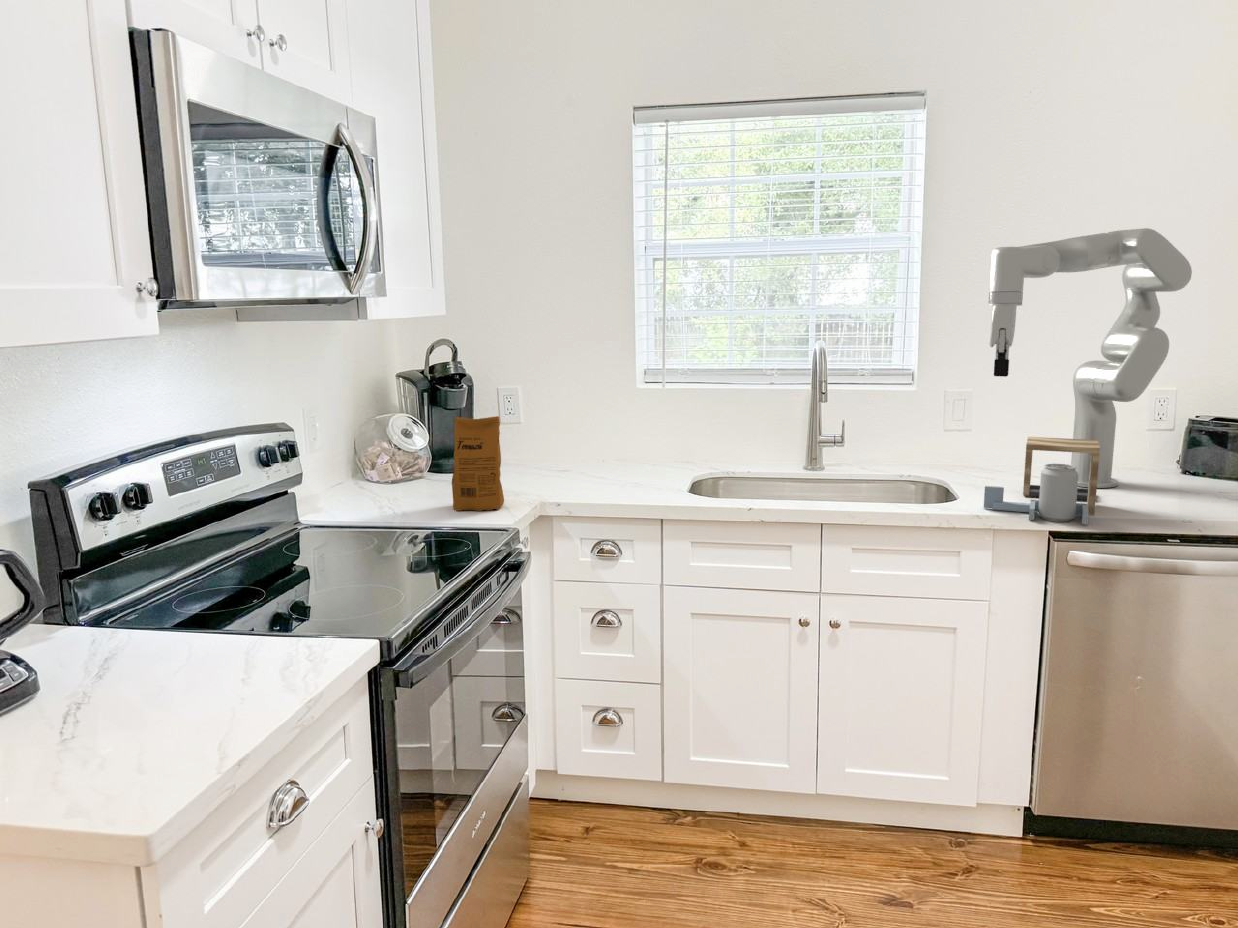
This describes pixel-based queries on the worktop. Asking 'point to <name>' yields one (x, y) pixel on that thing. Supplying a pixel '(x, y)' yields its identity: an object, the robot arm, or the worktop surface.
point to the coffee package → (477, 465)
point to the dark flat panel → (1081, 493)
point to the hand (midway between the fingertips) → (1000, 375)
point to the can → (1058, 492)
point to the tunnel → (1065, 446)
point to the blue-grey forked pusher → (1022, 504)
